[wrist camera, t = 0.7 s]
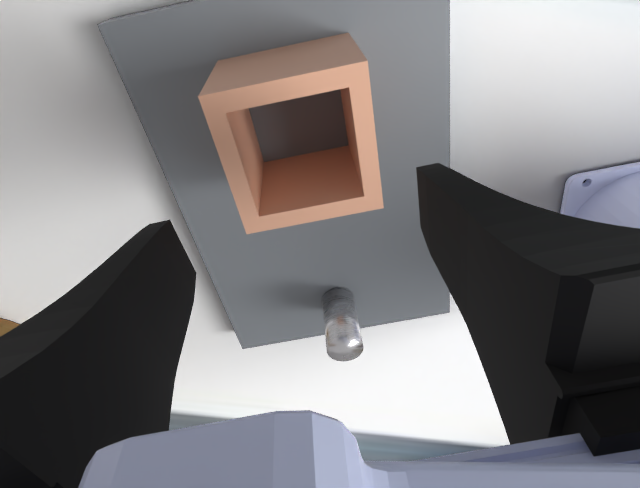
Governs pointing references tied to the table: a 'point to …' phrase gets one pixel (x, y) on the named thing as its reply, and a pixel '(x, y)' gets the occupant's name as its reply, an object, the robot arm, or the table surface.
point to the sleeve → (303, 170)
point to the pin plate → (292, 140)
